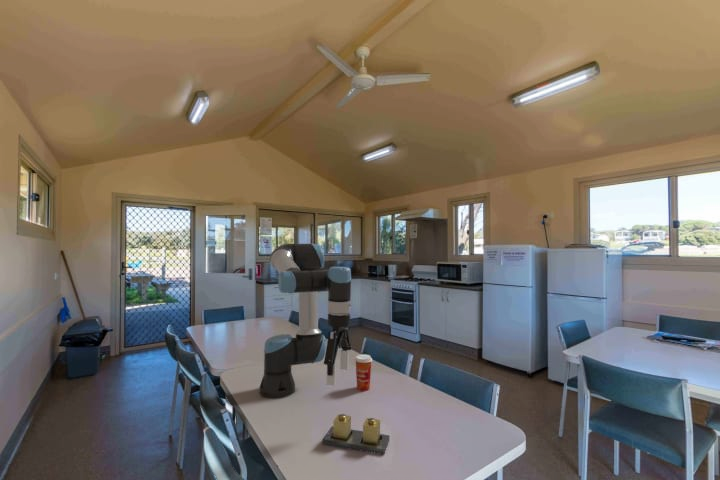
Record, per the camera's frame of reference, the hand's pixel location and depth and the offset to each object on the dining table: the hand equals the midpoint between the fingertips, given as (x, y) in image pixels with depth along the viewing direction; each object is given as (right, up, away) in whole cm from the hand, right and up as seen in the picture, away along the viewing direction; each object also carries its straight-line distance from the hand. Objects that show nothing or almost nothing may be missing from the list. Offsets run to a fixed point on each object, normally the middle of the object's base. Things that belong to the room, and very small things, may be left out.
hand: (337, 376), depth 113 cm
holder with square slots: (+6, -19, -5) cm, 21 cm away
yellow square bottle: (+2, -19, -3) cm, 20 cm away
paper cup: (+9, -21, +37) cm, 44 cm away
